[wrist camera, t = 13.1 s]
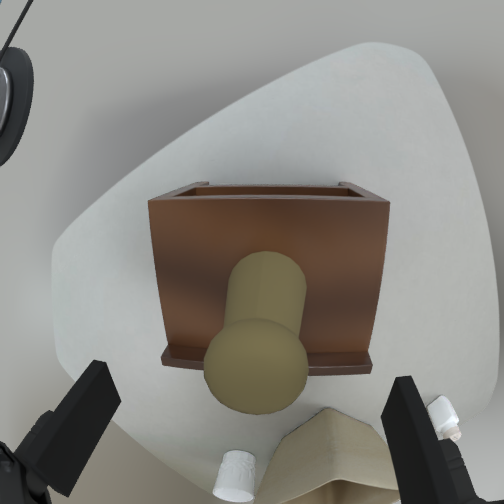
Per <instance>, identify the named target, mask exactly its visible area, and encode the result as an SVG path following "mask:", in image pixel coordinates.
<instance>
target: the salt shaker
mask: <svg viewBox="0 0 504 504" xmlns="http://www.w3.org/2000/svg"><path fill="white" fill-rule="evenodd" d="M427 409H428V412H429V414H430V417H431V419H432V421H433V424H434V426H435V429H436V430H437V431H438V432H440V433H442V434H443V438H444V439H447V438H450V439H451V440H452V441H453V442H455V441H456V440H458V439H459V438H460V436H461V432H460V430H459V428H458V426H457V423H458V421H459V419H458V417H457V415H456V413H455V411H454V409H453V407H452V405H451V403H450V401H449V400H448V399H447V398H446V397H444V396H443V395H441V396H439V397H438V398H437V399H436V400H434V401H433V402H432V403H431V404H429V405H428V406H427Z"/></svg>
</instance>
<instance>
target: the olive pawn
mask: <svg viewBox="0 0 504 504" xmlns="http://www.w3.org/2000/svg"><path fill="white" fill-rule="evenodd" d="M306 290H307V285H306V279H305V275H304V274H303V272H302V270H301V268H300V267H299V265H298V264H296V263H295V262H294V261H293V260H292V259H291V258H289V257H287V256H285V255H283V254H280V253H278V252H270V251H262V252H257V253H252V254H250V255H248V256H246V257H245V258H243V259H241V260H240V261H239V262H238V263H237V265H236V266H235V267H234V268H233V270H232V272H231V275H230V277H229V281H228V290H227V299H226V308H225V317H224V326H223V329H222V330H221V331H220V332H219V333H218V334H217V335H216V336H215V337H214V338H213V339H212V340H211V343H210V345H209V347H208V350H207V352H206V354H205V357H204V378H205V381H206V383H207V385H208V387H209V389H210V391H211V393H212V394H213V396H214V397H215V398H216V399H217V400H218V401H219V402H220V403H222V404H224V405H225V406H227V407H228V408H230V409H233V410H235V411H238V412H241V413H246V414H254V415H260V414H271V413H274V412H277V411H280V410H283V409H284V408H286V407H287V406H289V405H290V404H292V403H293V402H294V401H295V400H296V399H297V397H298V396H299V395H300V394H301V392H302V391H303V390H304V387H305V384H306V380H307V376H308V372H309V366H308V359H307V354H306V350H305V348H304V346H303V345H302V343H301V342H300V340H299V333H300V327H301V321H302V315H303V309H304V302H305V296H306Z"/></svg>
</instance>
